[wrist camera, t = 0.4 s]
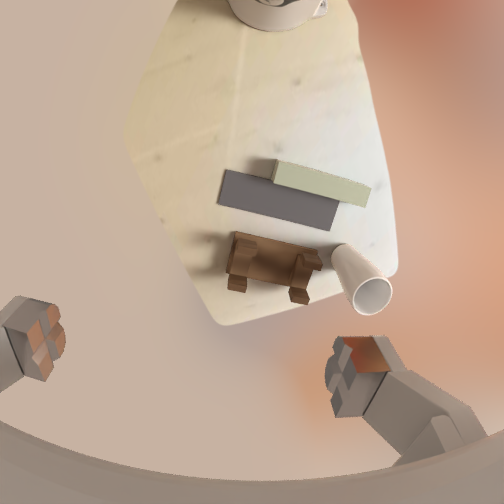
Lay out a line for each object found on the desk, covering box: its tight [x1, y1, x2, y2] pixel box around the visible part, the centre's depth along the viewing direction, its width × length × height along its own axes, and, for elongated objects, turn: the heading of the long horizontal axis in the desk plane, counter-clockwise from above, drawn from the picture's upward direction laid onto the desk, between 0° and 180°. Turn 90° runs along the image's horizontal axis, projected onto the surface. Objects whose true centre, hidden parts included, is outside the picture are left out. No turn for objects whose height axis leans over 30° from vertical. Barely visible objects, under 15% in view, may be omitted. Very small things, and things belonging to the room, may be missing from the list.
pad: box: [219, 170, 340, 231], centre depth 52 cm, size 6×20×1 cm, turn 76°
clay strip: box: [271, 159, 371, 208], centre depth 49 cm, size 16×4×4 cm, turn 76°
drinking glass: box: [331, 244, 392, 315], centre depth 49 cm, size 7×7×15 cm
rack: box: [226, 231, 323, 305], centre depth 53 cm, size 8×15×6 cm, turn 76°
